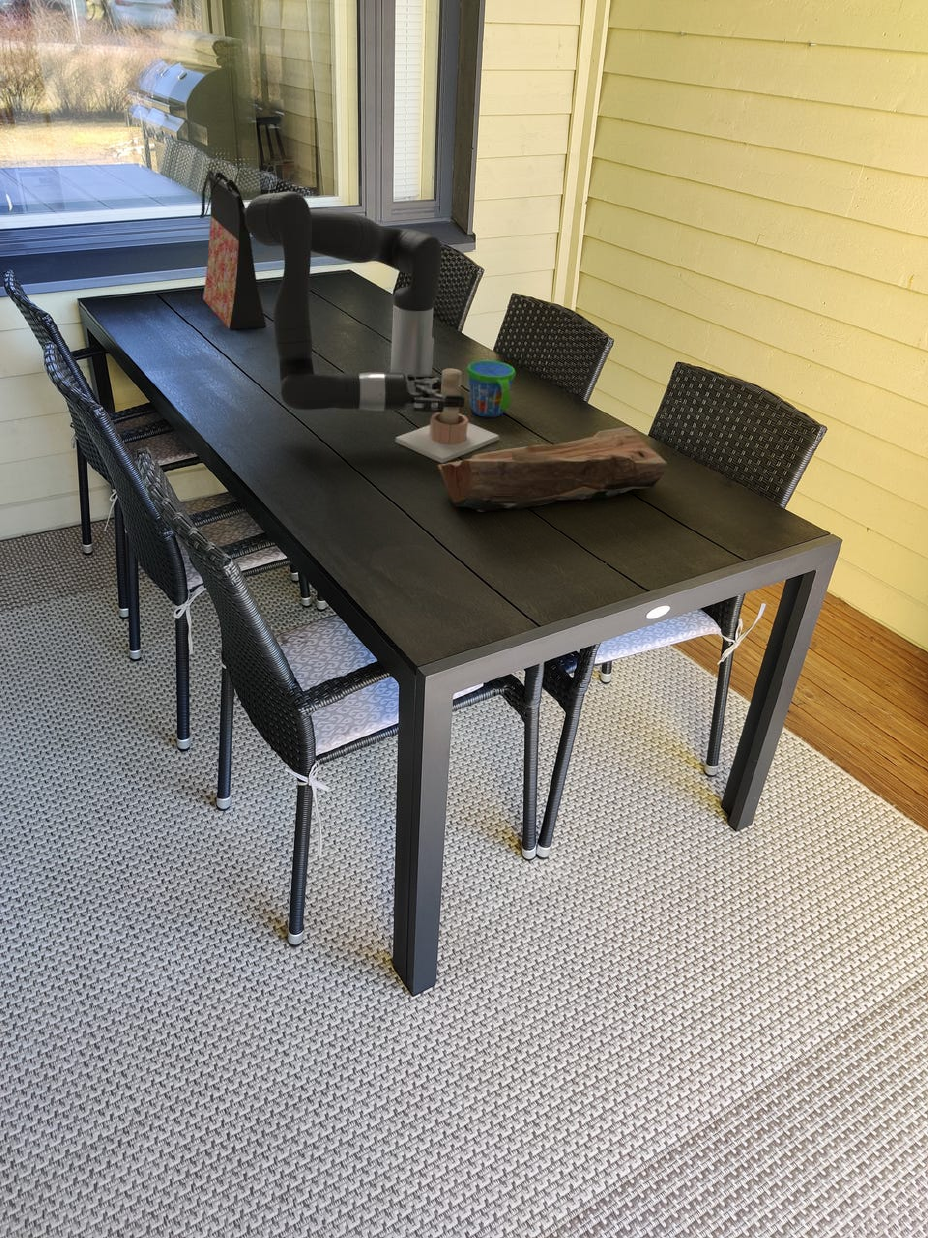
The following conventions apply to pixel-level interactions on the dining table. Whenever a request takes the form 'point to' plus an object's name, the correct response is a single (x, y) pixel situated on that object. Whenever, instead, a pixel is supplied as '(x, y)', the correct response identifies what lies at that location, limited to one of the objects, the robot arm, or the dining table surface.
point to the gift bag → (230, 258)
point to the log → (554, 472)
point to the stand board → (446, 452)
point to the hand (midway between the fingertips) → (460, 393)
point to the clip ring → (448, 430)
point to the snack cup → (490, 387)
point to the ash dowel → (450, 394)
